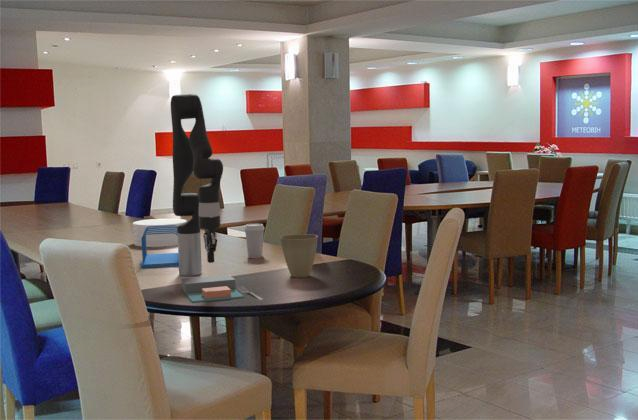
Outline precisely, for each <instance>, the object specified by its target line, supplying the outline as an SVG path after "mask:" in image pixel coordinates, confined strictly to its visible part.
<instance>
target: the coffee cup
mask: <svg viewBox="0 0 638 420" xmlns="http://www.w3.org/2000/svg"><path fill="white" fill-rule="evenodd" d="M243 230H244V232H245V240H246V248H247V249H246V250H247V257H248V258H250V259H259V258H262V257H263V248H264V231H265V230H266V229H265V226H264V224H263V223H247V224H245V227H244V228H243Z"/></svg>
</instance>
